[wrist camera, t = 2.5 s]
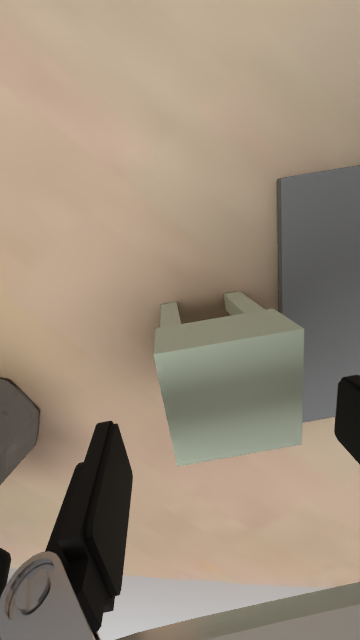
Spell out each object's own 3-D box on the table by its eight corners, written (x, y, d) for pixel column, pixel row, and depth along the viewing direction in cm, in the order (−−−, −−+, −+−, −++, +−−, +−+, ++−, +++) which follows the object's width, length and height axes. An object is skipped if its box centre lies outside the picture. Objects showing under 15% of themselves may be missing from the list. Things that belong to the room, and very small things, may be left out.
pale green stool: (241, 288, 18) (304, 328, 10) (247, 362, 20) (301, 444, 12) (157, 302, 18) (153, 354, 10) (171, 375, 20) (177, 466, 12)
